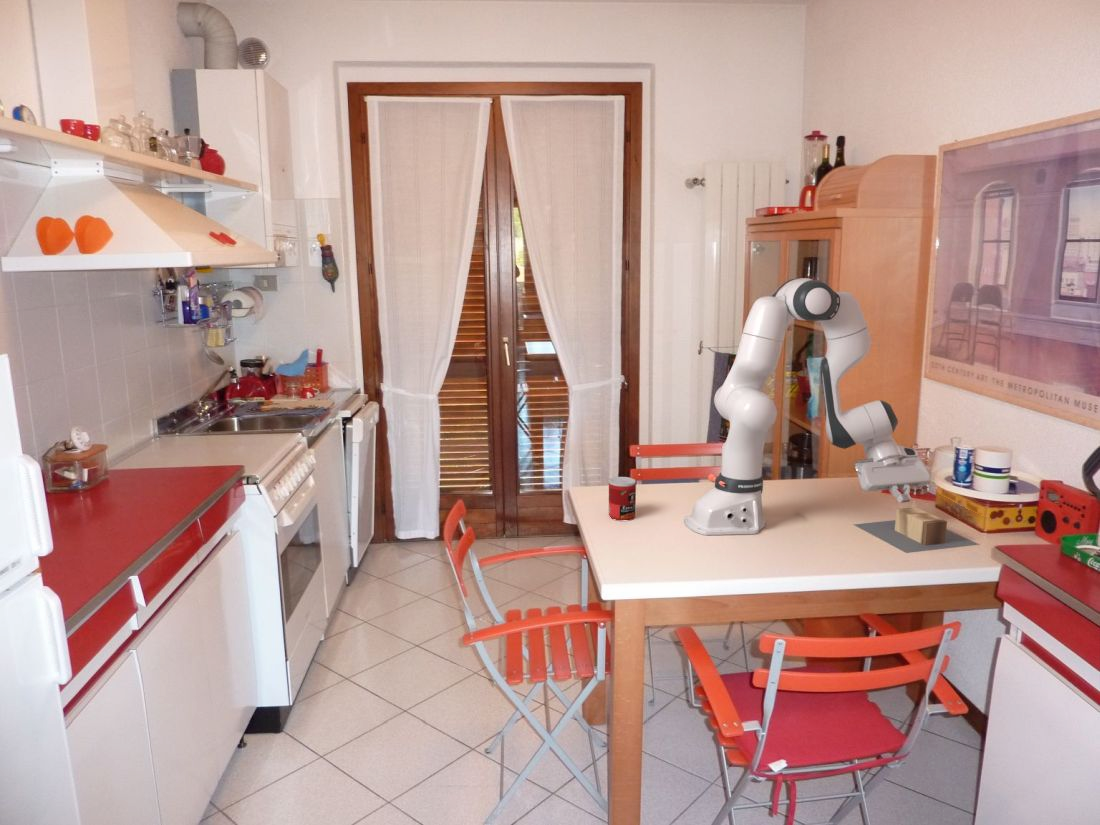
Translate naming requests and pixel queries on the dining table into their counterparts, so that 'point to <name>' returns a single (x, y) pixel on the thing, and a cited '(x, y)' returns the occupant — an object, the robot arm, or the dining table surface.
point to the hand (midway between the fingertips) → (905, 501)
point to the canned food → (622, 498)
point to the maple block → (920, 526)
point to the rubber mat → (906, 544)
